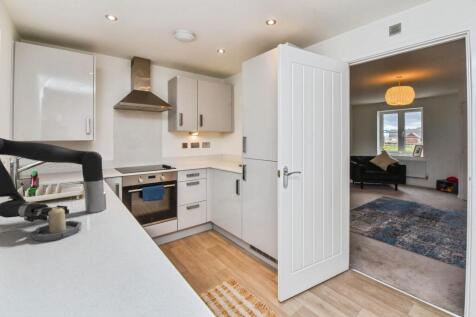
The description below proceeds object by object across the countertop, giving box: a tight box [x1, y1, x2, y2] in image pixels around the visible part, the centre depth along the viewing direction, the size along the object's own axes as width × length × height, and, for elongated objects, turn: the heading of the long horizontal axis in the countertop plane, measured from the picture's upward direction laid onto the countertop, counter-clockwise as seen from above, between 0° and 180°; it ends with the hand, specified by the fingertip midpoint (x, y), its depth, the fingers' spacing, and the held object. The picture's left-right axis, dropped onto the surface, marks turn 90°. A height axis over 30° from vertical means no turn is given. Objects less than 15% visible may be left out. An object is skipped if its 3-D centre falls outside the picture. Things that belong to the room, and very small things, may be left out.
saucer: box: [30, 220, 83, 242], centre depth 100 cm, size 16×16×2 cm
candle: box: [47, 207, 66, 233], centre depth 99 cm, size 6×6×10 cm
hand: (57, 214), depth 99 cm, fingers open, 8 cm apart
